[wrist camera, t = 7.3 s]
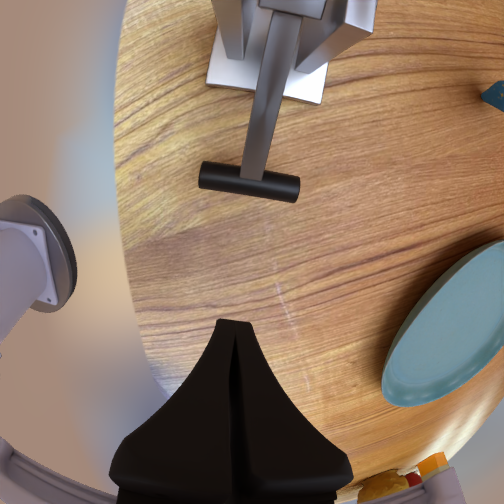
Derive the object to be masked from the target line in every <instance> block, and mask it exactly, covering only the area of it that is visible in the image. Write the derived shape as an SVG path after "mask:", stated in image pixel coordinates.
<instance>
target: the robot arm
mask: <svg viewBox="0 0 504 504" xmlns="http://www.w3.org/2000/svg"><path fill="white" fill-rule="evenodd" d="M36 231H37V233H36ZM36 299H37V300H40V301H43V302H46V303H49V304H52V305H57V303H58V297H57V293H56V289H55V285H54V280H53V276H52V271H51V266H50V260H49V255H48V249H47V242H46V235H45V230H44V228H43V227H41V226H36V225H30V224H24V223H18V222H11V221H5V220H0V344H1V343H2V342H3V340H4V339H5V338H6V336H7V335H8V334H9V332H10V331H11V330H12V328H13V327H14V326H15V324H16V323H17V322H18V321H19V319H20V318H21V317H22V315H24V313H25V312H26V311H27V310H28V308H29V307H30V306H31V305H32V304H33V303H34V301H35V300H36ZM1 357H2V355H1V353H0V358H1ZM109 477H110V478H111V480H112V481H113V482H114V483H115V484H117V485H118V486H119V491H118V496H114V495H111V494H108V493H105V492H102V491H100V490H97V489H94V488H91V487H89V486H86V485H84V484H81V483H79V482H77V481H74V480H72V479H70V478H67V477H65V476H63V475H61V474H59V473H57V472H55V471H53V470H51V469H49V468H47V467H45V466H43V465H41V464H39V463H37V462H36V461H34V460H32V459H30V458H28V457H27V456H25V455H24V454H22V453H20V452H19V451H17V450H15V449H14V448H13V447H12V446H11V445H10V444H9V443H8V442H7V441H6V440H4V439H3V438H2V437H0V499H1V500H2V501H3V502H5V503H6V504H334V500H337V494H336V491H337V490H339V489H340V488H342V487H344V486H346V485H347V484H349V483H350V482H351V481H352V480H353V478H354V476H353V472H352V468H351V465H350V462H349V460H348V457H347V454H345V453H344V452H343V451H341V450H340V449H339V448H338V447H336V446H335V445H334V444H332V443H331V442H330V441H329V440H328V439H326V438H325V437H324V436H323V435H322V434H321V433H320V432H319V431H318V430H317V429H316V428H315V427H314V426H313V425H312V424H311V423H310V422H309V421H308V420H307V419H306V418H305V417H304V416H303V414H302V413H301V412H300V411H299V410H298V409H297V407H296V406H295V405H294V404H293V402H292V401H291V400H290V398H289V397H288V396H287V394H286V393H285V392H284V390H283V389H282V387H281V385H280V384H279V382H278V381H277V379H276V377H275V376H274V374H273V372H272V370H271V369H270V367H269V365H268V363H267V361H266V359H265V357H264V355H263V353H262V350H261V348H260V346H259V343H258V341H257V338H256V336H255V333H254V330H253V326H252V324H251V323H250V322H243V321H235V320H228V319H221V318H220V319H218V320H217V321H216V326H215V329H214V332H213V334H212V336H211V339H210V341H209V343H208V345H207V347H206V348H205V350H204V352H203V354H202V356H201V357H200V359H199V360H198V362H197V364H196V365H195V367H194V368H193V370H192V371H191V373H190V374H189V375H188V377H187V378H186V379H185V381H184V382H183V383H182V385H181V386H180V387H179V388H178V389H177V391H176V392H175V393H174V394H173V395H172V396H171V397H170V399H169V400H168V401H167V402H166V403H165V404H164V405H163V406H162V407H161V408H160V409H159V410H158V411H157V412H156V413H155V414H153V415H152V416H151V417H150V418H149V419H148V420H147V421H146V422H145V423H143V424H142V425H141V426H140V427H138V428H137V429H136V430H134V431H133V432H132V433H130V434H129V435H128V436H126V437H125V438H124V440H123V441H122V443H121V444H120V446H119V447H118V449H117V451H116V453H115V455H114V458H113V460H112V463H111V467H110V471H109ZM359 504H466V502H465V499H464V495H463V492H462V489H461V486H460V483H459V481H458V478H457V475H456V472H455V469H454V467H450V468H448V469H446V470H444V471H442V472H440V473H438V474H436V475H434V476H432V477H430V478H428V479H427V480H425V481H424V482H423V483H420V484H418V485H415V486H413V487H410V488H408V489H405V490H402V491H399V492H396V493H393V494H390V495H387V496H384V497H381V498H377V499H374V500H370V501H367V502H363V503H359Z"/></svg>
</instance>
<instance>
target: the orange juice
mask: <svg viewBox="0 0 504 504" xmlns="http://www.w3.org/2000/svg"><path fill="white" fill-rule="evenodd" d="M417 466H418V469H419V472H420V475H421V479H422V482H424V481H425V480H427V479H428V478H430V477H432V476H434V475H436V474H438V473H440V472H442V471H444V470H446V469H448V468H449V465H448V463H447V460H446V457H445V455H444V452H441V453H436V454H433V455H432V456H430V457H428V458H427V459H425V460H424V461H422V462H420V463H419V464H417Z"/></svg>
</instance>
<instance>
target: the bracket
mask: <svg viewBox="0 0 504 504" xmlns="http://www.w3.org/2000/svg"><path fill="white" fill-rule="evenodd" d="M211 2H212V5H213V9H214V12H215V16H216V19H217V23H218V26H217V30H216V34H215V38H214V43H213V47H212V51H211V56H210V61H209V65H208V70H207V75H206V80H205V84H206V85H207V86H211V87H220V88H228V89H236V90H243V91H249V92H255V90H256V85H257V80H258V76H259V71H260V66H261V61H262V57H263V52H264V47H265V43H266V38H267V34H268V29H269V25H270V21H271V16H272V12H273V11H272V10H267V9H261V8H259V7H258V2H259V0H211ZM376 8H377V0H327V3H326V6H325V10H324V13H323V17H322V20H313V19H309V18H305V17H303V20H302V24H301V28H300V32H299V35H298V39H297V43H296V47H295V51H294V55H293V58H292V62H291V66H290V70H289V74H288V78H287V82H286V86H285V90H284V94H283V98H286V99H291V100H295V101H299V102H304V103H308V104H312V105H315V106H317V105H320V104H321V101H322V96H323V91H324V85H325V80H326V75H327V69H328V64H329V61H330V60H331V59H333V58H334V57H336V56H337V55H339V54H340V53H342V52H343V51H345V50H347V49H348V48H350V47H351V46H353V45H355V44H356V43H358V42H359V41H361V40H363V39H364V38H366V37H368V36H370V35H371V34H373V28H374V19H375V11H376Z"/></svg>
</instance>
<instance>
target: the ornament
mask: <svg viewBox="0 0 504 504" xmlns="http://www.w3.org/2000/svg"><path fill="white" fill-rule="evenodd" d="M481 98H482V99H483V101H485V102H486V103H488V104H490V105H492V106H494V107H496V108H497V109H499V110H501V111H502V112H504V81H498V82H496V83H495V84H493V85H492V86H491V87H490V88H489V89H487V90H486V91H485V92H483V93H482V94H481Z"/></svg>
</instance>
